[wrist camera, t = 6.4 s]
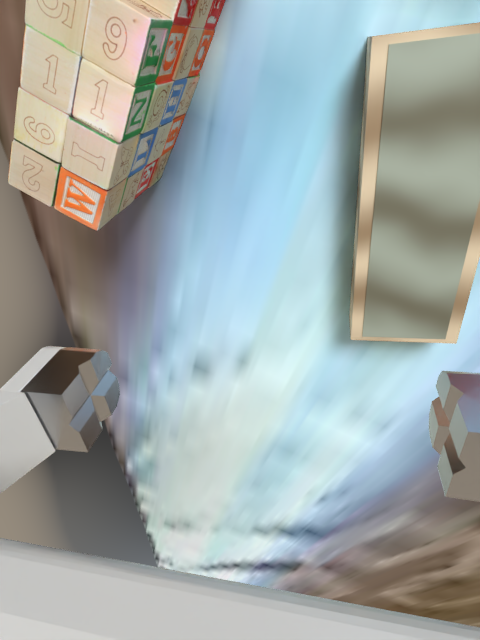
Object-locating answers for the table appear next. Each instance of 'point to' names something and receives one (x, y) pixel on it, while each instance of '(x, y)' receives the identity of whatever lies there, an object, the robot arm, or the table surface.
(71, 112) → the stack of blocks
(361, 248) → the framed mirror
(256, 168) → the table surface
